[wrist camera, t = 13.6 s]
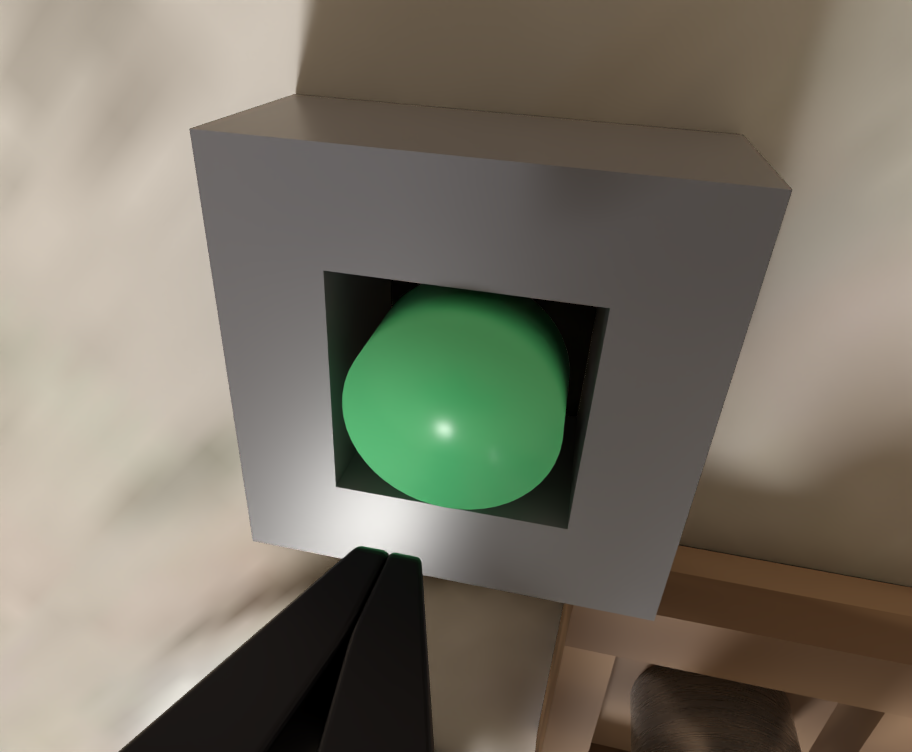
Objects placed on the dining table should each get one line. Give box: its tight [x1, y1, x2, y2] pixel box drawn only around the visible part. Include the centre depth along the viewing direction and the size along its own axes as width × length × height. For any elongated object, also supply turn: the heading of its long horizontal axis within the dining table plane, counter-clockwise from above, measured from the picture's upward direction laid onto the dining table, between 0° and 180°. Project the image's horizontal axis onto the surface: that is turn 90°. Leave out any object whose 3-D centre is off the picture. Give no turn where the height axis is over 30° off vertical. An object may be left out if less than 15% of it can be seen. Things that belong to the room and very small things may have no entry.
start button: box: [342, 284, 570, 510], centre depth 12 cm, size 4×4×2 cm
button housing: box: [190, 94, 792, 621], centre depth 14 cm, size 9×9×4 cm
